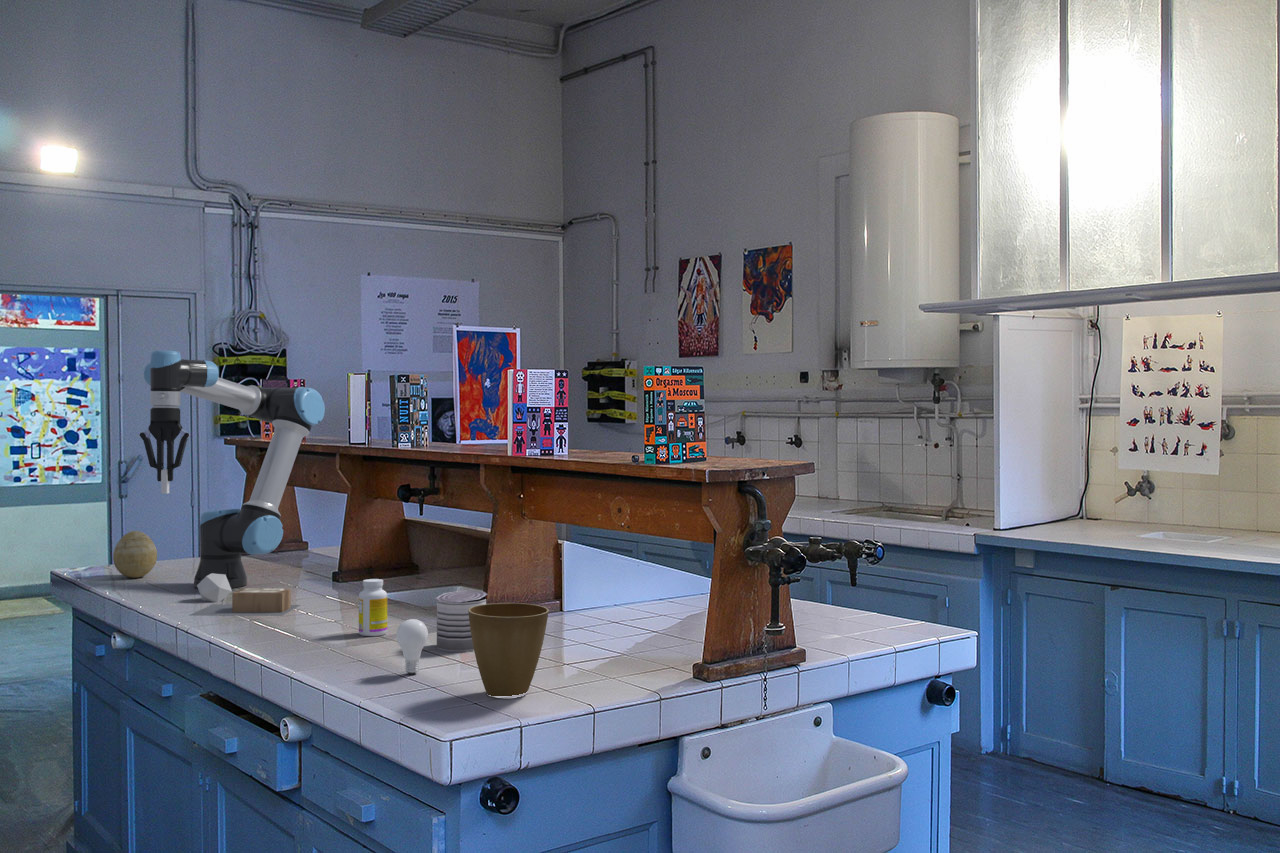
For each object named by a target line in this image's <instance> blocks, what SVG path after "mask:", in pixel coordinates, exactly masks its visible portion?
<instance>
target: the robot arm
mask: <svg viewBox="0 0 1280 853" xmlns="http://www.w3.org/2000/svg"><path fill="white" fill-rule="evenodd" d="M181 355H182V354H181V352H180V351H178V350H177V351H175V350H154V351H152V352H151V354H150V362H149V363H148V364H147V365H146V366H145V368H144V370H143V378H144V381H145V383H147V385H149V386H150V392H149V393H150V398H149V399H150V402H149V403H150V404H149V405H150V406H151V408H150V410H149V411H150V414H149V415H150V418H149V419H150V422H149V423H150V424H149V426H148V427H147V428H148V429H146V430H144V431H143V432H140V433H139V437H140V439H141V440H142V441H143V444H144V448H145V452H146V457H147V460H148V464H149V467H150V468H154V469H156V471H157V472H156V475H157V476H156V480H157V482H160V494H161V495H162V494H163V495H167V494H170V482H173V480H174V470H175V469H176V468H179V467H181V465H182V461H183V457H184V453H185V450H186V445H187V442H188V440H189V439H190V437H191V436H192V434H191V433H190V432H188V431H186V430H184V429H183V426H182V424H181V409H180V406H181V394H182V393H184V394H185V395H190V396H193V397H196V398H199V399H202V400H206V401H209V402H212V403H216V404H220V405H223V406H226V407H230V408H233V409H236V410H238V411H239V412H240V413H241V414H242V415H245V416H248V417H252V418H255V419H257V420H260V421H263V422H266V423H270V424H272V426H273V428H274V431H273V433H272V436H271V440H270V442H269V445H268V448H267V451H266V454H265V456H264V459H263V460H262V461H263V462H262V465H261V467H260V469H259V472H258V476H257V479H256V481H255V484H254V487H253V490H252V492H251V495H250V498H249V501H246V502H244V503H242V504H241V508H231V509H230V508H229V509H221V510H219V509H218V510H211V511H205V512H203V513H201V516H200V524H199V539H200V540H199V546H200V548H199V552H200V553H199V554H200V555H199V556H200V558H199V563H198V566H197V570H196V572H195V576H194V578H193V587H194V589H195V588H196V589H198V587H197V585H198V584H199V583H200V582H201V581H202V580H203V579H204V578H205V577H206V576H208V575H209V574H211V573H213V574H225V575H226V577H227V580H228V582H229V585H230V587H231V589H234V588H239V587H241V588H242V587H245V586H247V585H248V576H247V572H246V569H245V568H244V565H243V561H242V554H244V555H245V554H248V555H251V556H258V555H267V554H270V553H272V552H273V551H274V550H276V549H277V547H279V545H280V543H281V542H282V539H283V537H284V529H283V523H282V522H281V516H282V515H281V513H280V511H279V507H280V504H281V501H282V498H283V495H284V493H285V489H286V487H287V483H288V482H289V478H290V475H291V473H292V470H293V467H294V463H295V461H296V458H297V455H298V452H299V450H300V446H301V444H302V441H303V438H305V437H307V436H309V435H310V433H311V430H312V427H313V426H315V425H318V424H319V423H321V422H322V420H324V419H323V418H325V412H326V406H325V402H324V400H323V397H322V395H321V394H320V393H319V392H318V390H316V389H314V388H312V387H304V386H299V387H262V386H257V385H253V384H250V385H244V384H242V383H238V382H234V381H231V380H228V379H225V378H222V377H219V372H220V371H219V368H218V365H217V364H216V363H215V362H213V361H211V360H205V359H203V360H201V359H185V358H184V359H183V358H182V356H181ZM179 435H180V436H179ZM151 436H153V438H154V439H155V440H156V457H155V452H154V449H153V448H154V447H153V444H152V441H151ZM178 436H179V437H180V441H179V445H178V447H177V453H176V455H175V457H174V454H175V448H174V447H175V446H174V445H175V440H176V439H177V437H178ZM165 442H166V469H165V467H164V465H165V464H164V461H165V459H164V458H165V456H164V455H165V454H164V453H165V451H164V450H165ZM174 459H175V460H174Z"/></svg>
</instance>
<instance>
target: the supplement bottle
mask: <svg viewBox="0 0 1280 853" xmlns="http://www.w3.org/2000/svg"><path fill="white" fill-rule="evenodd" d="M383 585H384V579H381V578H380V579H379V578H369V579H363V580H362V586H363V590H361V591H360V592H359V595H358V634H359V635H360V636H363V637H379V636H384V635H386V634H387V633H388V593H387V591H385V590H384V589H383Z"/></svg>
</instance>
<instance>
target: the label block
mask: <svg viewBox="0 0 1280 853" xmlns="http://www.w3.org/2000/svg"><path fill="white" fill-rule="evenodd" d="M291 591H292V589H291V588H240V589H239V590H236V591H234V592H231V595H232V596H231V598H232V599H231V600H232V601H231V603H232V604H231V605H232V612H284V611H286V610H288V609H289V608H291V605H292V602H291V599H292V598H291V595H292V593H291Z"/></svg>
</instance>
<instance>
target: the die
mask: <svg viewBox="0 0 1280 853" xmlns="http://www.w3.org/2000/svg"><path fill="white" fill-rule="evenodd" d="M197 587H198V588H197V590H198V592H199V594H200V597H201V599H202V601H203V602H211V603H219V602H222V601H223V600H225V599H226V598H227V597H228V596H229V595H230V594H232V593H233V590H232V588H231V587H230V585H229V582H228V580H227V577H226V575H225V574H213V573H211V574H209V575H208V576H206V577H205V578H204V579H203V580H202V581H201V582H200V583H199V584H198V585H197Z"/></svg>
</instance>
